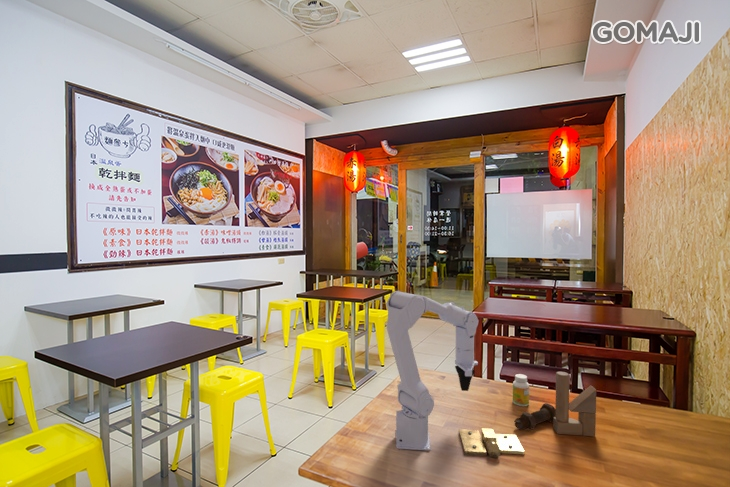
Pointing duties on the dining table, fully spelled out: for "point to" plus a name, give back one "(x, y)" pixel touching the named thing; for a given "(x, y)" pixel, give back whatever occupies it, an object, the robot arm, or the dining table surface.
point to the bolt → (535, 417)
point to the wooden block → (574, 409)
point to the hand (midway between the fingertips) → (464, 389)
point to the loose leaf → (503, 442)
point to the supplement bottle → (521, 390)
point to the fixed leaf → (478, 444)
